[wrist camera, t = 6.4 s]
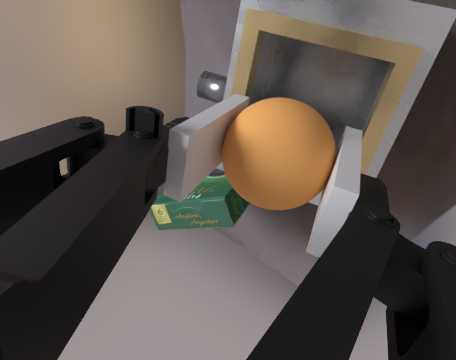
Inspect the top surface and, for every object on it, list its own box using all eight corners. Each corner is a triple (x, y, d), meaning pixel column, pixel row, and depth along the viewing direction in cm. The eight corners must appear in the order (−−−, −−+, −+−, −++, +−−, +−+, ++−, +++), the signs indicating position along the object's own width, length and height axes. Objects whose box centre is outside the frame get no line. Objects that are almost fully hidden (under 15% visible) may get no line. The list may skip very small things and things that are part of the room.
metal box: (241, -24, 28) (177, -47, 19) (428, 13, 25) (466, 9, 15) (215, 121, 36) (160, 157, 26) (358, 167, 32) (354, 230, 22)
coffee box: (215, 173, 39) (155, 233, 28) (208, 151, 38) (143, 204, 27) (278, 164, 35) (237, 229, 24) (272, 140, 34) (227, 196, 23)
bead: (255, 76, 16) (213, 94, 11) (356, 105, 14) (351, 137, 10) (235, 164, 18) (195, 205, 14) (320, 195, 17) (304, 250, 13)
